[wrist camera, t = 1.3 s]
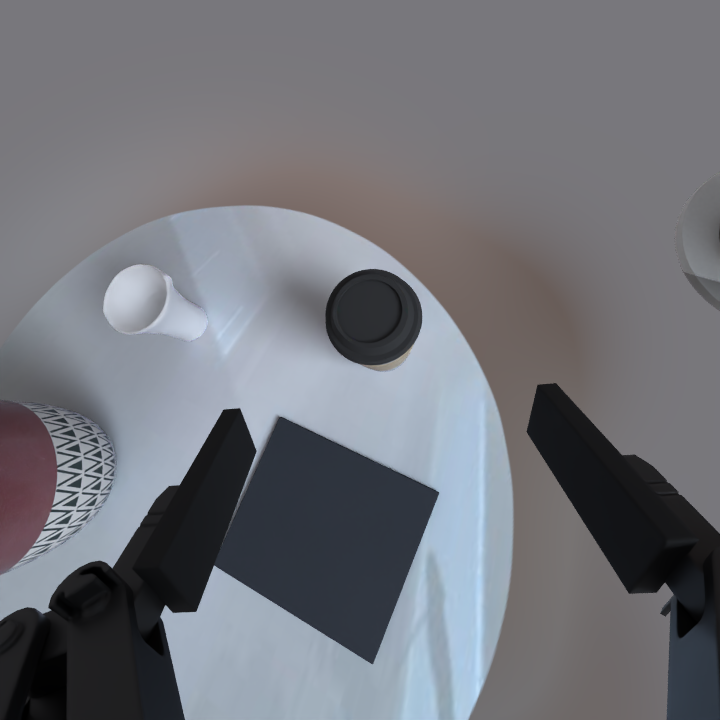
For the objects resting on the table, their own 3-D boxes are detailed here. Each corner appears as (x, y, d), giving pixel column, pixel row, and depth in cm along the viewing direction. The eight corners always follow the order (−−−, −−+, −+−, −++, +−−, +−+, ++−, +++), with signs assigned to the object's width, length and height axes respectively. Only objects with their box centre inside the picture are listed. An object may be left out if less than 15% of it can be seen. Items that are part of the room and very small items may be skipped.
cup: (229, 330, 45) (180, 306, 36) (175, 362, 46) (112, 348, 36) (207, 281, 47) (154, 246, 38) (155, 312, 48) (90, 286, 38)
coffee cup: (398, 301, 42) (392, 241, 27) (431, 360, 40) (443, 329, 25) (339, 332, 43) (302, 289, 28) (368, 392, 41) (344, 379, 26)
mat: (438, 492, 37) (439, 493, 37) (373, 661, 35) (372, 664, 35) (281, 417, 42) (279, 417, 41) (215, 563, 40) (213, 564, 39)
